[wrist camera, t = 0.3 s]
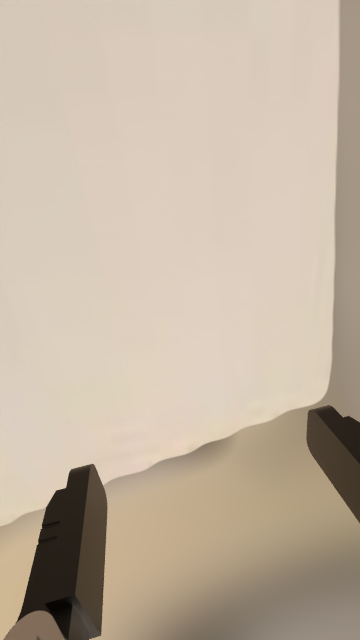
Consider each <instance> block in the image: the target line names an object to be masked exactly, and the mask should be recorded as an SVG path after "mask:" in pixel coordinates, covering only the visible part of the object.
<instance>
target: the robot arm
mask: <svg viewBox="0 0 360 640" xmlns="http://www.w3.org/2000/svg"><path fill="white" fill-rule="evenodd" d="M307 444H308V447H309V450H310V452H311V454H312V456H313V457H314V459H315V460H316V461H317V463H318V464H319V466H320V467H321V468H322V470H323V471H324V473H325V474H326V476H327V477H328V478H329V480H330V481H331V483H332V484H333V486H334V487H335V488H336V490H337V491H338V493H339V494H340V496H341V497H342V498H343V500H344V501H345V503H346V504H347V506H348V507H349V508H350V510H351V511H352V513H353V514H354V515H355V517H356V518H357V520H358V521H359V522H360V422H358V421H356V420H355V419H353V418H351V417H349V416H347V417H344V418H343V417H342V416H341V415H340V414H339V413H338V412H337V411H336V410H335V409H334V408H333V407H332V406H330V405H327V406H323V407H320V408H316V409H312V410H309V412H308V422H307ZM106 525H107V498H106V494H105V490H104V487H103V485H102V482H101V480H100V477H99V475H98V472H97V470H96V468H95V466H94V464H90V465H86V466H82V467H78V468H75V469H71V470H70V472H69V476H68V481H67V487H66V488H65V489H61V490H57V491H56V492H55V494H54V495H53V497H52V499H51V500H50V502H49V504H48V506H47V507H46V511H45V515H44V519H43V523H42V529H41V532H40V536H39V540H38V542H39V544H38V545H37V548H36V553H35V556H34V561H33V565H32V569H31V573H30V577H29V581H28V586H27V590H26V594H25V598H24V603H23V606H22V609H21V613H20V615H19V618H18V620H17V622H16V624H15V625H14V626H13V627H12V628H11V629H10V631H9V632H8V634H7V635H6V636H5V638H4V640H89V639H91V638H94V637H97V636H101V625H102V606H103V586H104V585H103V584H104V565H105V545H106Z"/></svg>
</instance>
